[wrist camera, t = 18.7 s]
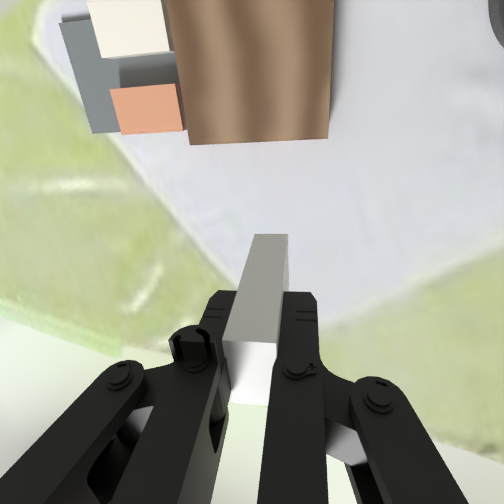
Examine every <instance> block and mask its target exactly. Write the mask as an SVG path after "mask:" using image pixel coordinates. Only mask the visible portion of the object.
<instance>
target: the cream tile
mask: <svg viewBox="0 0 504 504" xmlns="http://www.w3.org/2000/svg"><path fill="white" fill-rule="evenodd" d="M87 5H88V9H89V12H90V16H91V20H92V24H93V27H94V31H95V35H96V39H97V42H98V46H99V50H100V54H101V57H102V58H108V59H117V58H127V57H136V56H145V55H155V54H164V53H173V52H175V51H174V45H173V39H172V33H171V27H170V21H169V15H168V8H167V2H166V0H91V1H87Z"/></svg>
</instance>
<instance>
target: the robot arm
mask: <svg viewBox="0 0 504 504" xmlns="http://www.w3.org/2000/svg"><path fill="white" fill-rule="evenodd" d="M489 16H490V22H491V26H492V29H493V31H494V34H495V36H496V38H497V39H498V41H499V42H500V44H501V45H502V46H503V47H504V0H489ZM288 286H289V272H288V234H255V235H254V239H253V242H252V245H251V248H250V251H249V255H248V258H247V261H246V264H245V267H244V271H243V274H242V277H241V280H240V284H239V287H238V290H237V291H227V290H218V291H217V292H216V293H215V294H214V295H213V296H212V297H211V298H210V299H209V301H208V304H207V306H206V310H205V311H204V313H203V316H202V318H201V320H200V323H199V325H189V326H186V327H184V328H181V329H179V330H178V331H176V332H175V333H174V334H173V335H172V336H171V337H170V339H169V340H168V341H169V345H170V348H171V352H172V356H173V359H174V362H173V363H171V364H168V365H165V366H161V367H156V368H151V369H146V370H144V368H143V366H142V364H141V363H139V362H137V361H134V360H126V361H120V362H118V363H115V364H114V365H111V366H110V367H109V368H107V369H106V370H105V371H103V372H102V373H101V374H100V375H99V376H98V377H97V378H96V379H95V380H94V382H93V383H92V384H91V385H90V386H89V387H88V388H87V389H86V390H85V391H84V392H83V393H82V394H81V395H80V396H79V397H78V398H77V399H76V400H75V401H74V402H73V403H72V404H71V405H70V406H69V407H68V409H67V410H66V411H65V412H64V413H63V414H62V415H61V416H60V417H59V418H58V419H57V420H56V421H55V422H54V423H53V424H52V425H51V426H50V427H49V428H48V429H47V430H46V431H45V432H44V433H43V435H42V436H41V437H40V438H39V439H38V440H37V441H36V442H35V443H34V444H33V445H32V446H31V447H30V448H29V449H28V450H27V451H26V452H25V453H24V454H23V455H22V456H21V457H20V459H19V460H18V461H17V462H16V463H15V464H14V465H13V466H12V467H11V468H10V469H9V470H8V471H7V472H6V473H5V474H4V475H3V476H2V477H1V478H0V504H210V503H211V499H212V493H213V489H214V485H215V480H216V475H217V471H218V466H219V462H220V457H221V452H222V448H223V443H224V439H225V434H226V430H227V425H228V420H229V419H228V418H229V417H228V416H229V413H228V407H227V406H228V402H229V398H230V394H231V398H232V403H243V404H253V405H264V406H268V411H267V420H266V429H265V437H264V447H263V455H262V464H261V472H260V481H259V490H258V499H257V504H328V503H329V502H328V483H327V464H326V454H328V455H330V456H332V457H334V458H336V459H339V460H340V461H342V462H344V464H345V467H346V470H347V473H348V476H349V479H350V482H351V485H352V488H353V491H354V495H355V497H356V501H357V504H469V503H468V502H467V500H466V498H465V496H464V495H463V493H462V491H461V490H460V488H459V486H458V485H457V483H456V481H455V479H454V478H453V476H452V474H451V473H450V471H449V469H448V468H447V466H446V464H445V462H444V461H443V459H442V457H441V455H440V454H439V452H438V450H437V449H436V447H435V445H434V443H433V442H432V440H431V438H430V437H429V435H428V433H427V432H426V430H425V428H424V426H423V425H422V423H421V421H420V420H419V418H418V416H417V414H416V413H415V411H414V409H413V408H412V406H411V404H410V403H409V401H408V399H407V397H406V396H405V395H404V393H403V392H402V391H401V390H400V388H399V387H398V386H396V385H395V384H393V383H392V382H390V381H389V380H386V379H383V378H380V377H372V376H367V377H364V378H361V379H358V380H357V381H356V382H355V383H354V382H351V381H348V380H345V379H343V378H340V377H338V376H336V375H334V374H333V373H331V372H330V371H328V369H327V368H326V367H325V366H324V365H323V363H322V361H321V359H320V354H319V336H318V316H317V301H316V299H315V298H314V296H313V295H312V294H311V292H289V291H288Z"/></svg>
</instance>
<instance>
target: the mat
mask: <svg viewBox="0 0 504 504" xmlns="http://www.w3.org/2000/svg"><path fill="white" fill-rule="evenodd" d="M59 26H60V29H61V32H62V35H63V39H64V42H65V45H66V48H67V52H68V55H69V58H70V62H71V65H72V68H73V71H74V75H75V78H76V81H77V84H78V88H79V91H80V94H81V97H82V101H83V104H84V107H85V110H86V114H87V117H88V120H89V123H90V127H91V130H92V133H93V134H94V133H111V132H121V130H120V126H119V123H118V119H117V115H116V111H115V108H114V104H113V100H112V96H111V93H110V89H118V88H130V87H141V86H152V85H163V84H175V83H180V81H179V75H178V69H177V63H176V57H175V52H173V53H164V54H155V55H145V56H136V57H127V58H117V59H108V58H102V57H101V54H100V50H99V46H98V42H97V39H96V35H95V31H94V27H93V24H92V20H91V19H87V20H79V21H71V22H63V23H59Z"/></svg>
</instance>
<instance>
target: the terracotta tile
mask: <svg viewBox="0 0 504 504" xmlns="http://www.w3.org/2000/svg"><path fill="white" fill-rule="evenodd" d="M110 93H111V96H112V100H113V104H114V108H115V111H116V115H117V119H118V123H119V126H120V130H121V134H122V135H126V134H142V133H158V132H174V131H184V130H186V129H187V124H186V118H185V112H184V106H183V100H182V94H181V88H180V83H175V84H163V85H152V86H141V87H130V88H118V89H110Z"/></svg>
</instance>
